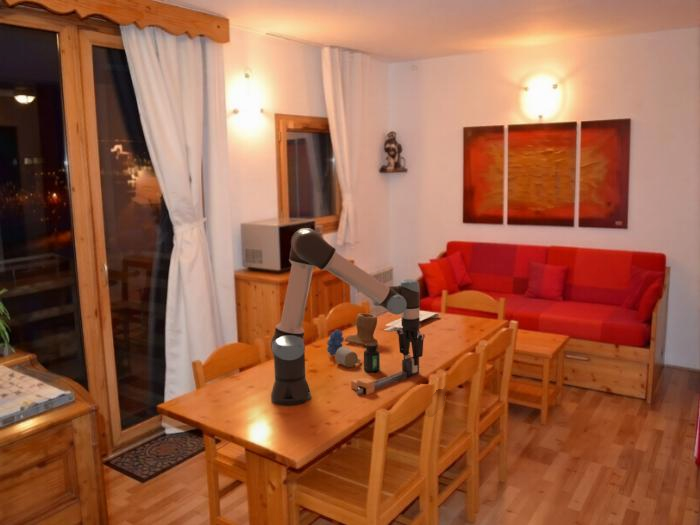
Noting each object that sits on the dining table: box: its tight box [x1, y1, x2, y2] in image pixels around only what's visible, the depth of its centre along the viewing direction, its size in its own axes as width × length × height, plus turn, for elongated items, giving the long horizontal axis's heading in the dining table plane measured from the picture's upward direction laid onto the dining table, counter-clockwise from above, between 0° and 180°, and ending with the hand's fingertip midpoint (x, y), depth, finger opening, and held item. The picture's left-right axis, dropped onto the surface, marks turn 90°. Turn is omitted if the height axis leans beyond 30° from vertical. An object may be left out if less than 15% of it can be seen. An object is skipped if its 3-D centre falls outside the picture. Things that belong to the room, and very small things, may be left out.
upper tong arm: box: [356, 356, 413, 396], centre depth 242 cm, size 34×3×7 cm, turn 133°
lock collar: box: [350, 377, 375, 396], centre depth 235 cm, size 4×9×4 cm, turn 43°
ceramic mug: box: [334, 346, 361, 368], centre depth 267 cm, size 11×8×8 cm
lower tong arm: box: [374, 357, 420, 391], centre depth 243 cm, size 30×1×7 cm, turn 133°
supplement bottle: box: [363, 343, 381, 374], centre depth 257 cm, size 7×7×12 cm
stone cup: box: [344, 312, 378, 346], centre depth 298 cm, size 15×12×15 cm
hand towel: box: [383, 310, 440, 333], centre depth 333 cm, size 12×4×40 cm
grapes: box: [326, 329, 345, 357], centre depth 281 cm, size 12×7×12 cm, turn 144°
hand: (411, 371), depth 252 cm, fingers open, 3 cm apart
